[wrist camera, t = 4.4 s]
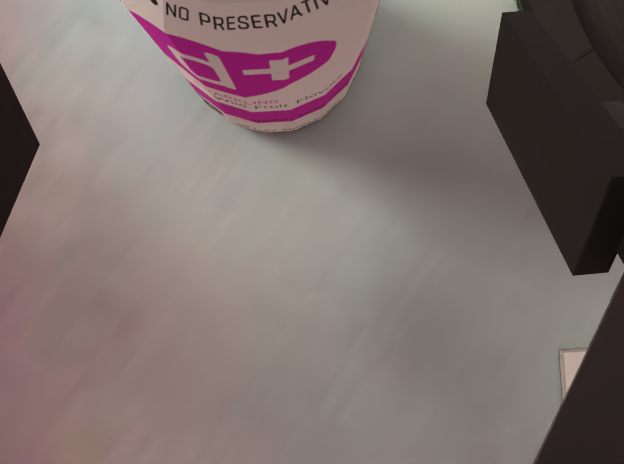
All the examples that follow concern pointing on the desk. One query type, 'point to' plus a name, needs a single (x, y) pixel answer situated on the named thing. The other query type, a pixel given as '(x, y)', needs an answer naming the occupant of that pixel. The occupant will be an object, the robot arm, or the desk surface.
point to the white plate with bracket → (569, 366)
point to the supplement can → (262, 54)
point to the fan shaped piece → (588, 39)
